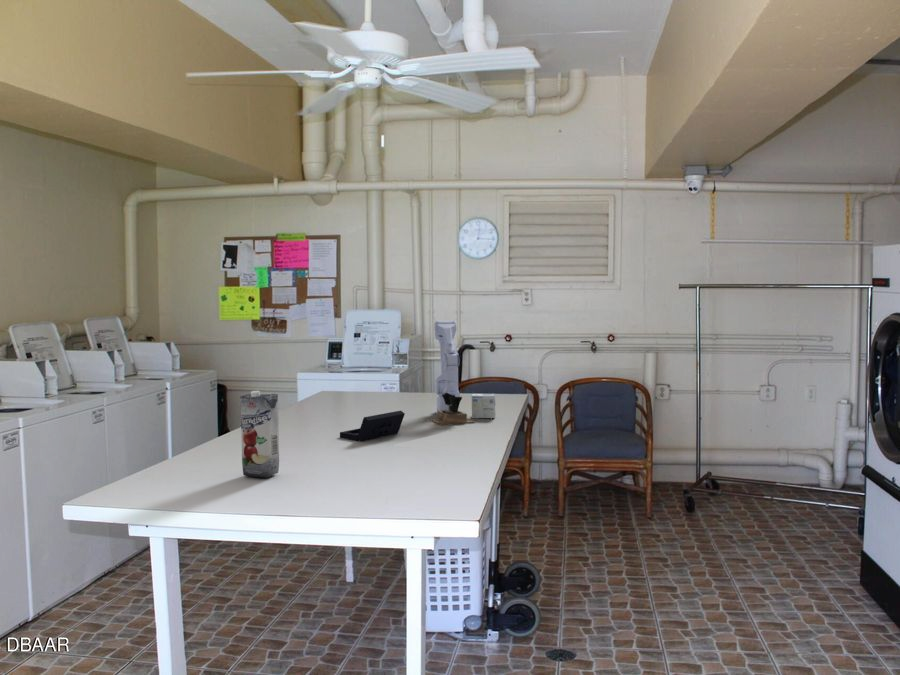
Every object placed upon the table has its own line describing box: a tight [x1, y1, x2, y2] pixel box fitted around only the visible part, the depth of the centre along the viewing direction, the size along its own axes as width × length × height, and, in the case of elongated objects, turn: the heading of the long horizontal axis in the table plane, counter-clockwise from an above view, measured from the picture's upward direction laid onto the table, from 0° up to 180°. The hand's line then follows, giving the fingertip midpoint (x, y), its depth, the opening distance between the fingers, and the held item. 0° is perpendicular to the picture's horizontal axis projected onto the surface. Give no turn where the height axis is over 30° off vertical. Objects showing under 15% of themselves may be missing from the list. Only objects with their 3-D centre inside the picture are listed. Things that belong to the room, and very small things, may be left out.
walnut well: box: [429, 409, 475, 426], centre depth 328 cm, size 14×16×4 cm
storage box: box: [339, 410, 406, 443], centre depth 296 cm, size 21×16×10 cm
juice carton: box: [239, 390, 280, 479], centre depth 233 cm, size 9×10×27 cm
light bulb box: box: [471, 393, 496, 420], centre depth 337 cm, size 11×7×11 cm, turn 84°
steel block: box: [445, 404, 457, 415], centre depth 328 cm, size 4×4×7 cm
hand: (451, 411), depth 328 cm, fingers open, 7 cm apart
